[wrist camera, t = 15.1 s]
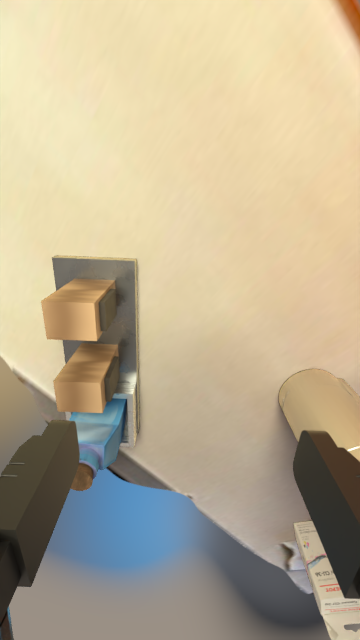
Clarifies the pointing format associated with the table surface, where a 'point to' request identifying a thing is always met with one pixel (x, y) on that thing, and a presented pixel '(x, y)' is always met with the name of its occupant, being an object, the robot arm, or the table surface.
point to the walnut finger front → (80, 310)
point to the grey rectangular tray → (120, 329)
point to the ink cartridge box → (326, 585)
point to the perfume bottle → (98, 440)
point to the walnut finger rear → (88, 379)
